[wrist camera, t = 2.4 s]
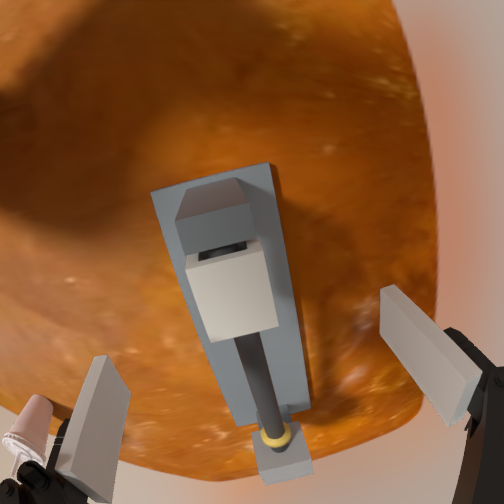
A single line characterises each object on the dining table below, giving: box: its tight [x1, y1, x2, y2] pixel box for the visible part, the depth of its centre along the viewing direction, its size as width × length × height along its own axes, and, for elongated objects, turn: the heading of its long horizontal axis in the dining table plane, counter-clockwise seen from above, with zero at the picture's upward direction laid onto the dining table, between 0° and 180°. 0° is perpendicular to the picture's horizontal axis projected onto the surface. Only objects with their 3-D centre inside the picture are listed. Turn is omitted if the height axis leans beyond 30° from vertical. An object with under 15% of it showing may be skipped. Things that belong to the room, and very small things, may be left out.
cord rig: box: [150, 162, 313, 485], centre depth 26 cm, size 31×10×12 cm, turn 12°
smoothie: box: [2, 394, 53, 477], centre depth 26 cm, size 6×6×14 cm
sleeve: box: [185, 238, 279, 343], centre depth 19 cm, size 5×4×4 cm
